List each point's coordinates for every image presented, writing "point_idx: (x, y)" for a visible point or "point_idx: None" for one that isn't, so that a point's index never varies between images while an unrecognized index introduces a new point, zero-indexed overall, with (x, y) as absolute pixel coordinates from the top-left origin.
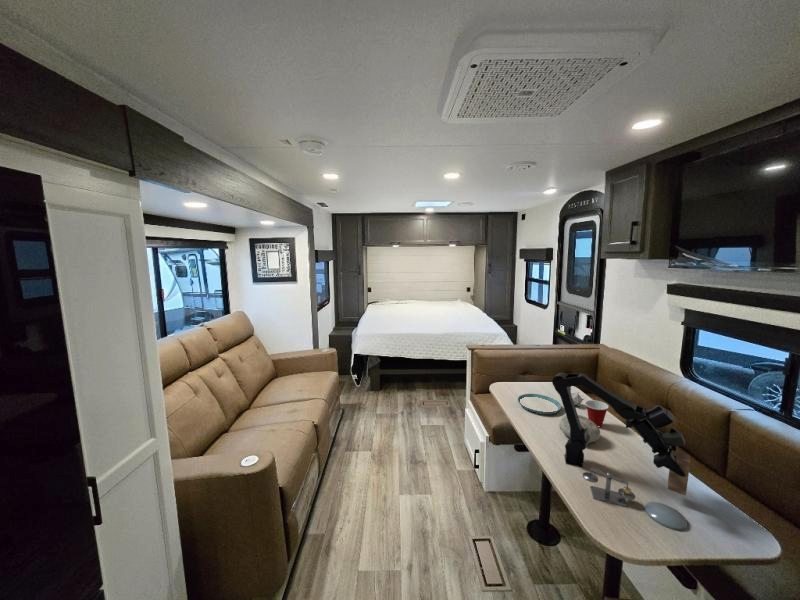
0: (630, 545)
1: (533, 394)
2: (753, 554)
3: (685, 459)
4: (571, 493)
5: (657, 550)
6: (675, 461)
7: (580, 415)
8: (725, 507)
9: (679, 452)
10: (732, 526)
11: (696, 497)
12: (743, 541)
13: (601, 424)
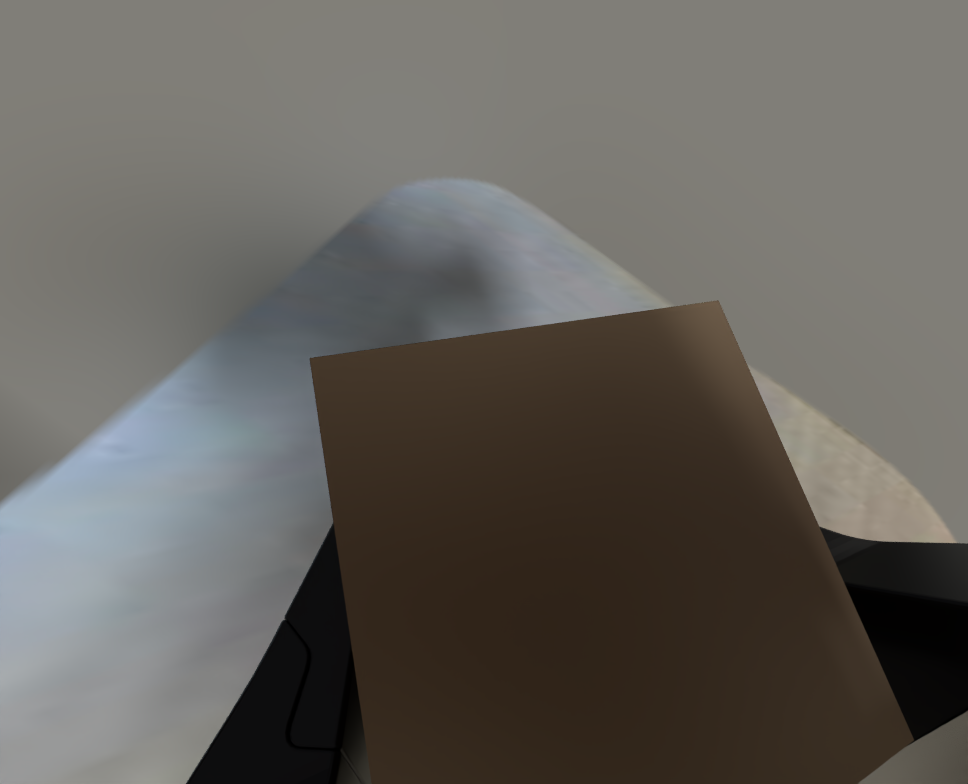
0: (896, 521)
1: None
2: (555, 230)
3: (706, 400)
4: None
5: (830, 451)
6: (938, 548)
7: None
8: (270, 306)
9: (367, 701)
10: (434, 279)
11: (291, 428)
12: (507, 250)
13: None
